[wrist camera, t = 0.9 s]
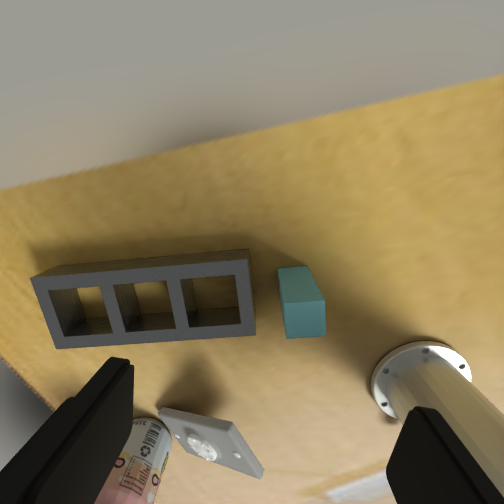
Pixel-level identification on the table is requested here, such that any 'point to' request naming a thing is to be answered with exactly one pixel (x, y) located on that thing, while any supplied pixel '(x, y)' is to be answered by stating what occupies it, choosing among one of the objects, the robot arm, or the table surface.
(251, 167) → the table surface
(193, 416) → the light switch
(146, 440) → the beverage can
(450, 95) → the table surface
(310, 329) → the square peg
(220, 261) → the hole rail
